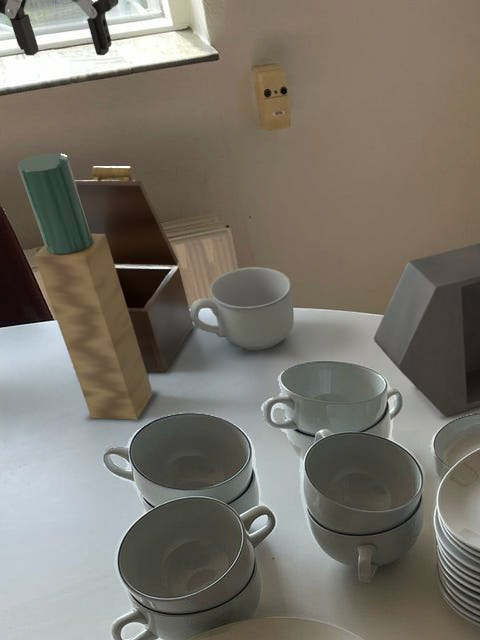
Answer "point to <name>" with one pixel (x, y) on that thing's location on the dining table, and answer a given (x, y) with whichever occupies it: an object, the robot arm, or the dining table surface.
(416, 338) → the planter
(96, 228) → the lid
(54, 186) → the green cylinder
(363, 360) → the dining table surface
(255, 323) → the teacup
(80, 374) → the stand
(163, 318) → the chest
